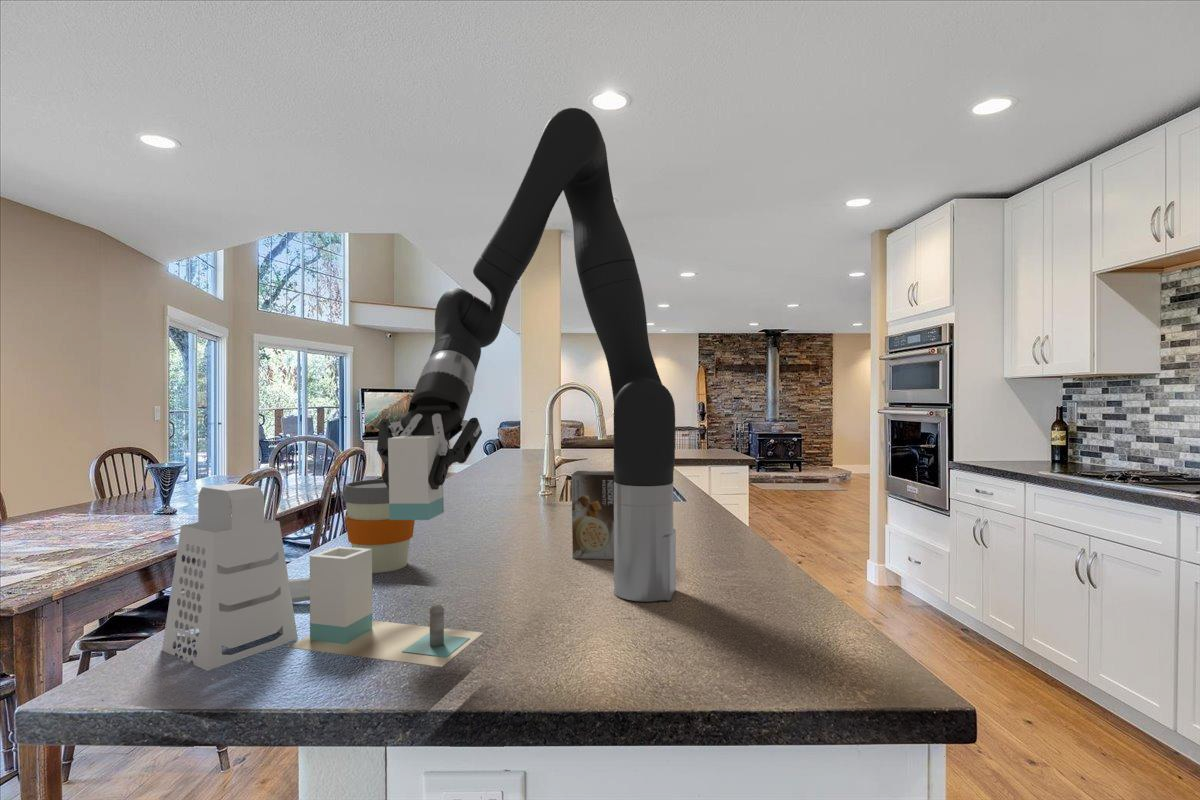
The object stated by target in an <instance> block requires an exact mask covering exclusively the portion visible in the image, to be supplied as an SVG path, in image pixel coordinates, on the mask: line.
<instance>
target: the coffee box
mask: <svg viewBox="0 0 1200 800" xmlns="http://www.w3.org/2000/svg"><path fill="white" fill-rule="evenodd" d="M570 477H571V524H572V525H571V531H572V532H571V533H572V534H571V535H572V536H571V537H572V540H571V541H572V546H571V547H572V559H582V560H583V559H586V560H587V559H588V560H590V559H591V560H593V559H594V560H614V470H608V471H607V470H576V471H574V472H573V474H571V476H570Z"/></svg>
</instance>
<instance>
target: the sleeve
mask: <svg viewBox="0 0 1200 800" xmlns="http://www.w3.org/2000/svg"><path fill="white" fill-rule="evenodd" d="M438 445H439V436H435V435H429V436H401V437H399V436H397V437H394V438H388V466H389V513H390V520H415V521H429V520H431V519H433V518H436V517H438V516H440V515H441V514H444V513H445V510H444V509H445V507H444V505H445V504H444V500H445V499H444V483H443V484H442V485H439V488H438V490H432V489H431V487H430V485H429V482H428V477H429V474H430V471H431V468H432V465H433V462H434V459H435V457H438V451H437V448H438Z"/></svg>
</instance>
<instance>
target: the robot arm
mask: <svg viewBox="0 0 1200 800" xmlns="http://www.w3.org/2000/svg"><path fill="white" fill-rule="evenodd" d="M607 153H608V151H607V146H606V143H605V140H604V137H603V135H602V132H601V130H600V127H599V125H598V123H597V121H596V119H594V117H593V116H592V115H591V114H590V113H589V112H587V111H586V110H585V109H583V108H577V107H568V108H564V109H562V110H559V111H557V112H556V113H554V115H552V117H551V118H550V119H549V120H548V121H547V123H546V124H545V126H544V128H543V131H542V133H541V135H540V138H539V140H538V143H537V145H536V147H535V150H534V152H533V155H532V158H531V160H530V163H529V165H528V167H527V170H526V172H525V174H524V176H523V179H522V181H521V182H520V185H519V187H518V189H517V191H516V193H515V195H514V197H513V199H512V201H511V203H510V204H509V207H508V209H507V211H506V213H505V215H504V216H503V218H502V220H501V222H500V224H499V225H498V226H497V228H496V230H495V232H494V233H493V234H492V236H491V238H490V240H489V241H488V243H487V244H486V246H485V248H484V249H483V251H482V253H481V254H480V256H479V258H478V260H477V261H476V263H475V265H474V267H473V269H472V273H473V275H474V277H475V278H476V279H477V280H478V281H479V282H480V283H481V284H482V285H483V286H484V287H485V288H486V289H487V290H488V291H489V293H490V302H489V303H488V302H485V301H484V300H482V299H481V298H478V297H477V296H476V295H473V293H470V292H469V291H467V290H466V289H463V288H460V287H454V288H451V289H448V290H447V291H445V292H444V293H443V294H442V295H441V297H440V298H439V300H438V302H437V303H436V307H435V311H434V343H433V344H434V345H433V347H432V349H431V352H430V354H429V358H428V360H427V362H426V363H425V364H424V366H423V367H422V370H421V373H420V375H419V378H418V381H417V383H416V385H415V388H414V391H413V392H412V396H411V398H410V401H409V404H408V405H409V406H408V410H407V412H406V413H405V415H404V416H402V418H401V420H398V421H392V422H391V421H390V420H389V419H388V418H384V419H381V421H379V426H378V428H379V429H378V435H377V437H378V438H377V445H376V452H377V454H378V455H379V457H380V458H381V459H380V460H381V461H382V462H383V464H384V465H385V467H384V469H383V472H382V474H381V479H383V481H384V482H385V484H386V486H387V487H388V489H389V466H388V438H394V437H401V436H429V435H435V436H439V445H438V448H437V451H438V457H435V459H434V462H433V465H432V468H431V471H430V474H429V477H428V482H429V485H430V487H431V489H432V490H438V488H439V485H442V484H443V485H444V484H445V481H446V477H447V476H448V471H449V468H451V466H452V465H453V464H455V463H458V464H465V463H466V461H467V460H468V458H469V456H470V455H471V453H472V451H473V450H474V448H475V446H476V444H477V443H478V441H479V439H480V438H481V435H482V434H483V431H482V427H481V425H480V421H479V419H478V417H472V418H470V419H469V420H466V419H465V414H466V412H467V409H468V404H469V401H470V398H471V396H472V394H473V390H474V384H475V376H476V373H477V369H478V367H479V366H478V365H479V363H480V359H481V356H482V348H486V347H488V346H490V345H491V344H493V343H494V342H495V340H497V337H498V336H499V334H500V331H501V328H502V324H503V320H504V316H505V312H506V311H507V310H506V309H507V306H508V304H509V301H510V298H511V296H512V293H513V291H514V289H515V288H516V285H517V284H518V282H519V280H520V279H521V277H522V276H523V274H524V273H525V271H526V269H527V268H528V266H529V265H530V262H531V261H532V259H533V257H534V256H535V253H536V251H537V249H538V247H539V245H540V242H541V239H542V236H543V234H544V231H545V228H546V226H547V224H548V220H549V219H550V215H551V213H552V211H553V209H554V207H555V205H556V203H557V201H558V199H559V198H560V196H561V194H562V193H564V196H565V199H566V203H567V207H568V208H569V212H570V216H571V220H572V229H573V246H574V247H573V248H574V249H573V250H574V259H575V266H576V270H577V275H578V280H579V283H580V286H581V290H582V294H583V298H584V301H585V304H586V308H587V310H588V311H587V312H588V314H589V317H590V321H591V323H592V325H593V327H594V330H595V333H596V335H597V338H598V341H599V343H600V345H601V348H602V351H603V353H604V356H605V360H606V363H607V366H608V367H607V369H608V373H609V378H610V379H609V380H610V385H611V391H612V400H613V471H614V559H613V592H614V594H615V596H616V597H618V598H621V599H624V600H628V601H634V602H658V601H671V600H672V597H673V595H674V593H675V592H676V589H677V556H676V555H677V552H676V551H677V545H676V543H677V537H676V536H677V534H676V529H675V528H674V473H675V472H674V470H675V463H676V462H675V461H676V407H675V406H676V405H675V401H674V398H673V395H672V394H671V392H670V391H669V389H668V388H667V387H666V386H665V385H663V383H662V380H661V377H660V375H659V372H658V369H657V366H656V364H655V360H654V358H653V355H652V351H651V346H650V341H649V334H648V333H649V332H648V322H647V312H646V305H645V299H644V298H645V297H644V292H643V287H642V283H641V282H642V281H641V279H640V274H639V271H638V267H637V263H636V260H635V256H634V253H633V249H632V246H631V244H630V243H631V242H630V241H629V238H628V235H627V232H626V230H625V227H624V225H623V222H622V220H621V218H620V215H619V213H618V210H617V207H616V203H615V198H614V195H613V189H612V183H611V177H610V169H609V163H608V162H609V161H608V154H607ZM401 431H402V432H401ZM400 432H401V433H400ZM399 433H400V434H399ZM459 433H460V435H459V436H458V438H457V440H456V441H455V443H454V445H453V447H452V448H451V444H450V441H451V440H452V439H453V438H454V437H455V436H457V435H458V434H459Z"/></svg>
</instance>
